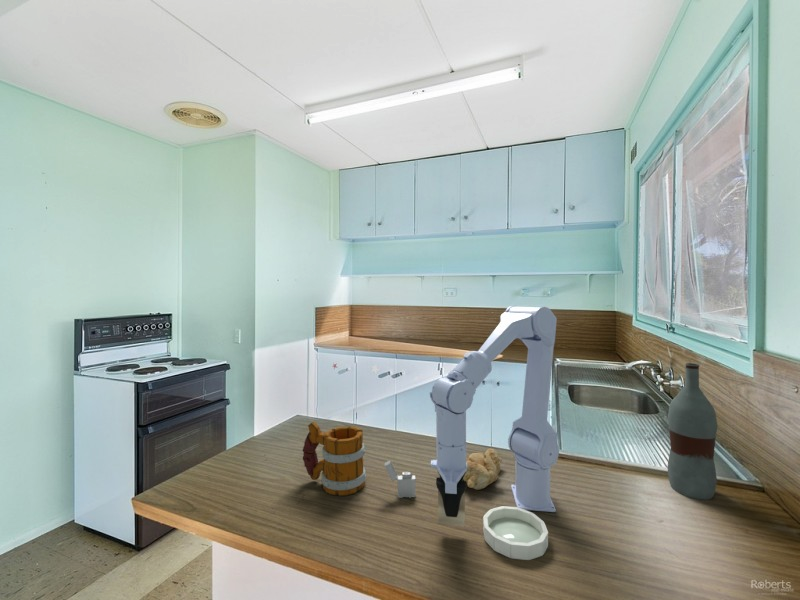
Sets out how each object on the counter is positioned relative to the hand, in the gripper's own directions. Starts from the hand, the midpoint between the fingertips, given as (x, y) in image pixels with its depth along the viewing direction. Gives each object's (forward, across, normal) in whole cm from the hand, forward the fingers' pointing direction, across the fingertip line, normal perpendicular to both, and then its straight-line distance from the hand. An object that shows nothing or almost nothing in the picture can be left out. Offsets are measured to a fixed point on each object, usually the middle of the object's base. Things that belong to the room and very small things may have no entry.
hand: (451, 510), depth 70 cm
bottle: (+5, -24, +56) cm, 61 cm away
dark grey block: (+2, 0, 0) cm, 2 cm away
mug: (+5, -15, -29) cm, 33 cm away
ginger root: (+5, -22, +6) cm, 23 cm away
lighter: (+5, -12, -12) cm, 18 cm away
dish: (+5, -1, +12) cm, 13 cm away
